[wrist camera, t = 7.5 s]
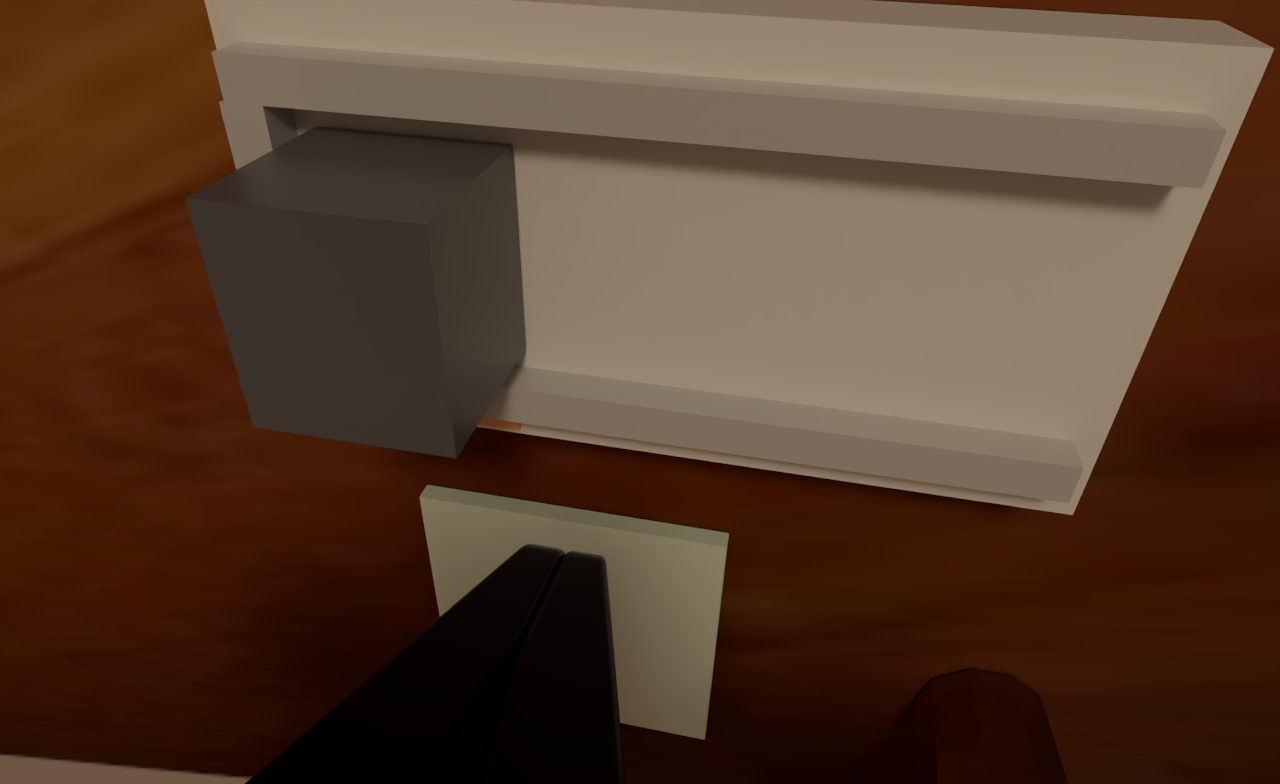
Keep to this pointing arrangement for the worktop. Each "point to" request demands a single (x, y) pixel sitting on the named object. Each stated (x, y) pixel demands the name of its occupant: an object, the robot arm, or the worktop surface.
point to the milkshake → (983, 732)
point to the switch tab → (368, 284)
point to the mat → (637, 580)
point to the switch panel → (799, 211)
